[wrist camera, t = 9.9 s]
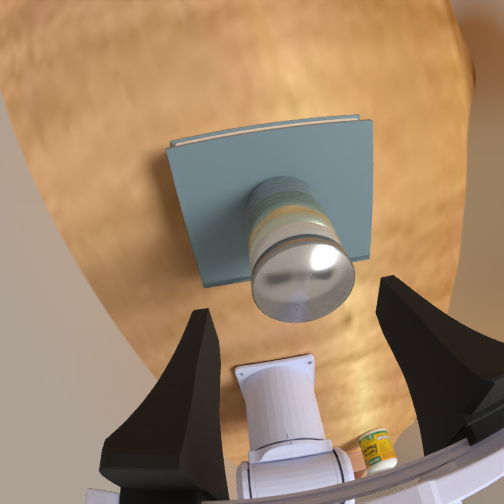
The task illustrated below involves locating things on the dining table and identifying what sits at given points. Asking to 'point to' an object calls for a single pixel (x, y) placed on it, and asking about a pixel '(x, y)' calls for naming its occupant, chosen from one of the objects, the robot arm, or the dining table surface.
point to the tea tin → (294, 253)
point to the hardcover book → (266, 167)
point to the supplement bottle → (377, 451)
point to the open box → (358, 465)
